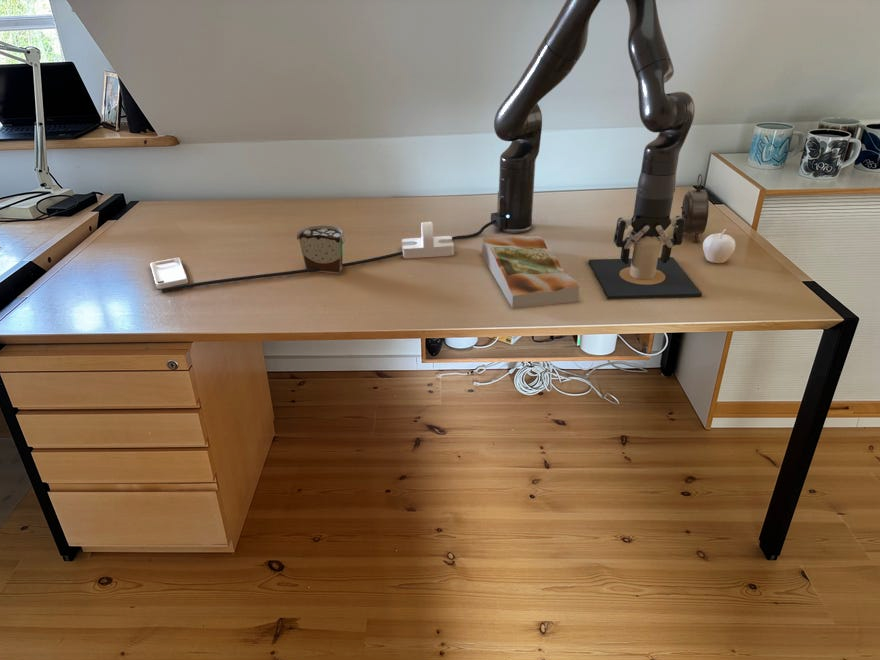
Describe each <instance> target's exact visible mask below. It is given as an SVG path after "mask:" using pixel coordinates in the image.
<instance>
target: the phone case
mask: <svg viewBox="0 0 880 660" xmlns="http://www.w3.org/2000/svg"><path fill="white" fill-rule="evenodd" d="M170 261H172V262H170ZM158 263H159V264H158ZM160 263H162V264H160ZM150 269H151V273H152V275H153V279H154V282H155V287H156V289H157V290H162V288H168V287H174V286H180V285H186V284H189V281H188V276H187V274H186V271H185V269H184V266H183V263H182V261H181V259H180V257H174V258H168V259H164V260H163V259H162V260H157V261H153V262H150Z"/></svg>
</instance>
